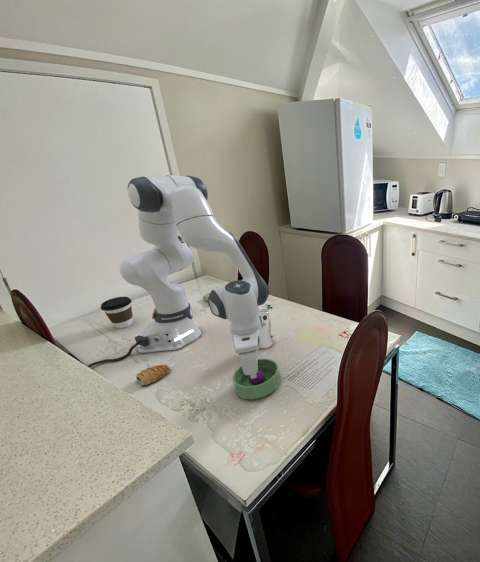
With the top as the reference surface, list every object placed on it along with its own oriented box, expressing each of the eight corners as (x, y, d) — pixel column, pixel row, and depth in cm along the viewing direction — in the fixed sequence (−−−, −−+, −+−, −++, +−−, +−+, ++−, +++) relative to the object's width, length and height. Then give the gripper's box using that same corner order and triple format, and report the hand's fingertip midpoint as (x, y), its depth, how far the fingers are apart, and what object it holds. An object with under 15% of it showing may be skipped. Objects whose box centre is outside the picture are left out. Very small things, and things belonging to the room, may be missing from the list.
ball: (250, 390, 102) (247, 378, 100) (250, 380, 106) (247, 368, 104) (266, 386, 103) (264, 375, 101) (265, 376, 108) (263, 365, 105)
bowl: (235, 405, 97) (231, 392, 94) (236, 376, 109) (233, 364, 107) (282, 394, 101) (279, 380, 99) (278, 367, 113) (276, 354, 111)
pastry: (164, 366, 114) (161, 357, 113) (173, 373, 111) (170, 364, 109) (135, 380, 107) (132, 372, 106) (144, 388, 104) (140, 379, 102)
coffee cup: (110, 334, 135) (100, 310, 130) (108, 324, 142) (98, 301, 137) (140, 325, 141) (132, 301, 136) (137, 316, 149) (129, 293, 144)
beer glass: (268, 350, 123) (263, 317, 117) (252, 348, 124) (246, 315, 118) (277, 340, 129) (272, 308, 123) (262, 338, 130) (256, 306, 124)
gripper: (237, 317, 104) (244, 351, 110) (234, 352, 87) (242, 390, 92) (257, 314, 106) (263, 347, 112) (258, 348, 89) (264, 385, 94)
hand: (253, 367), depth 102 cm, fingers open, 8 cm apart
